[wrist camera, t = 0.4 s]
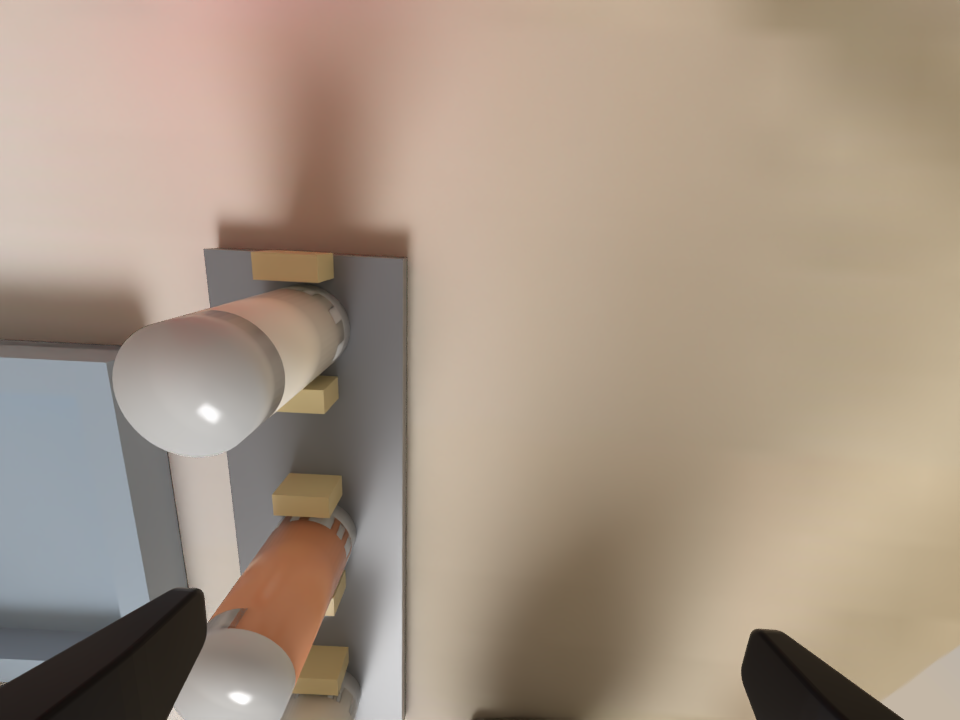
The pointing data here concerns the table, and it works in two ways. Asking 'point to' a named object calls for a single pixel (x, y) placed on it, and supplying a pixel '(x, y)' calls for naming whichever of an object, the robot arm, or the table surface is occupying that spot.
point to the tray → (75, 504)
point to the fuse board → (336, 462)
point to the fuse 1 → (226, 367)
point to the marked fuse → (269, 622)
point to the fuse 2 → (326, 704)
